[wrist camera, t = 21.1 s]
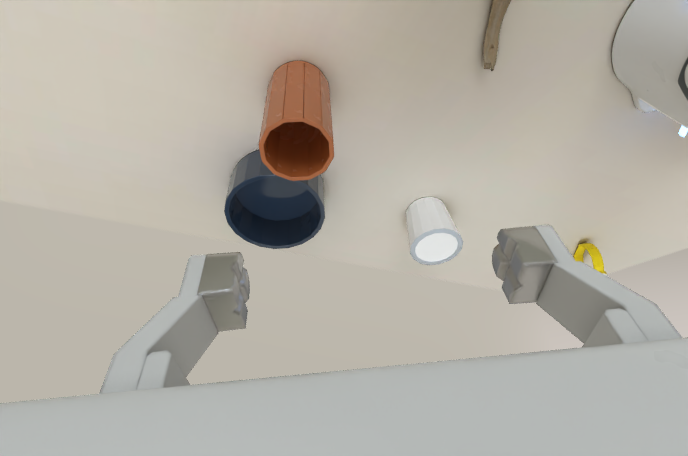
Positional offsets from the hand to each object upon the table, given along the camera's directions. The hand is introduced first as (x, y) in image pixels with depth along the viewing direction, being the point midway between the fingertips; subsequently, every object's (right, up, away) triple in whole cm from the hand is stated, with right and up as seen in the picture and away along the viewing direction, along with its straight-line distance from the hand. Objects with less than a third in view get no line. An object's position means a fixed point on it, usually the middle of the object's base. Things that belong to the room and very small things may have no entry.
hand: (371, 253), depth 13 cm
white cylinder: (+11, +3, +45) cm, 47 cm away
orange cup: (-6, +16, +31) cm, 36 cm away
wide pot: (-9, +6, +40) cm, 42 cm away
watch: (+37, -3, +53) cm, 64 cm away
